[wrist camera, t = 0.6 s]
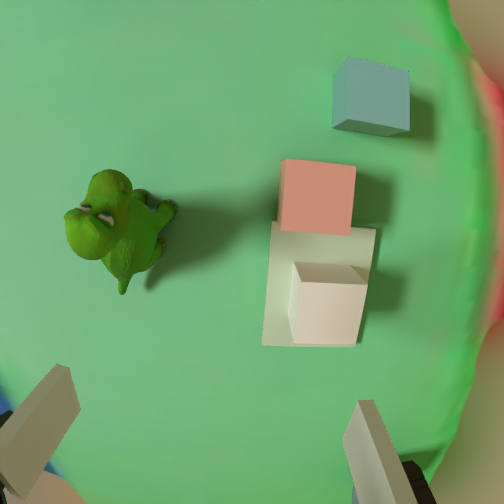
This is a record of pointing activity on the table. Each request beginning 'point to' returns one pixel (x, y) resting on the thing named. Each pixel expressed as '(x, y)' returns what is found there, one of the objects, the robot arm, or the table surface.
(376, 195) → the table surface
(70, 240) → the toy
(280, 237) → the plate
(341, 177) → the brick coral
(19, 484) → the robot arm
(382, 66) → the brick teal
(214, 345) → the table surface
